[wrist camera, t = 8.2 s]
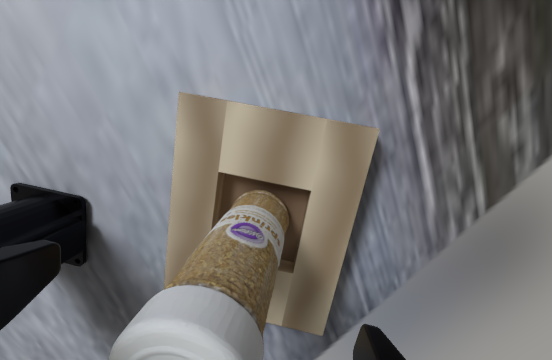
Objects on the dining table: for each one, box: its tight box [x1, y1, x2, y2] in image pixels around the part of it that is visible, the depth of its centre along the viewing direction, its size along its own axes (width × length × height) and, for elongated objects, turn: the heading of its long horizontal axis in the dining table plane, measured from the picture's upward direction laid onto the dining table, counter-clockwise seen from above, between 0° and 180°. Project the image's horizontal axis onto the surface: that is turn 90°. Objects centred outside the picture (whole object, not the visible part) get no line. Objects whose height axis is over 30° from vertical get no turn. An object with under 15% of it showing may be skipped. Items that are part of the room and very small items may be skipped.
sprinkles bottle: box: [108, 190, 289, 360], centre depth 14 cm, size 5×5×14 cm
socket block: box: [164, 92, 380, 336], centre depth 20 cm, size 13×16×2 cm
